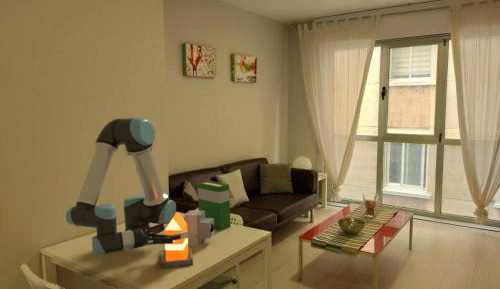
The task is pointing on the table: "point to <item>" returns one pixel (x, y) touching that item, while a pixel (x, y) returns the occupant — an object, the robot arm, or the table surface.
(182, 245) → the juice carton
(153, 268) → the table surface
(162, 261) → the tray
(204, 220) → the circuit breaker
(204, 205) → the green box
